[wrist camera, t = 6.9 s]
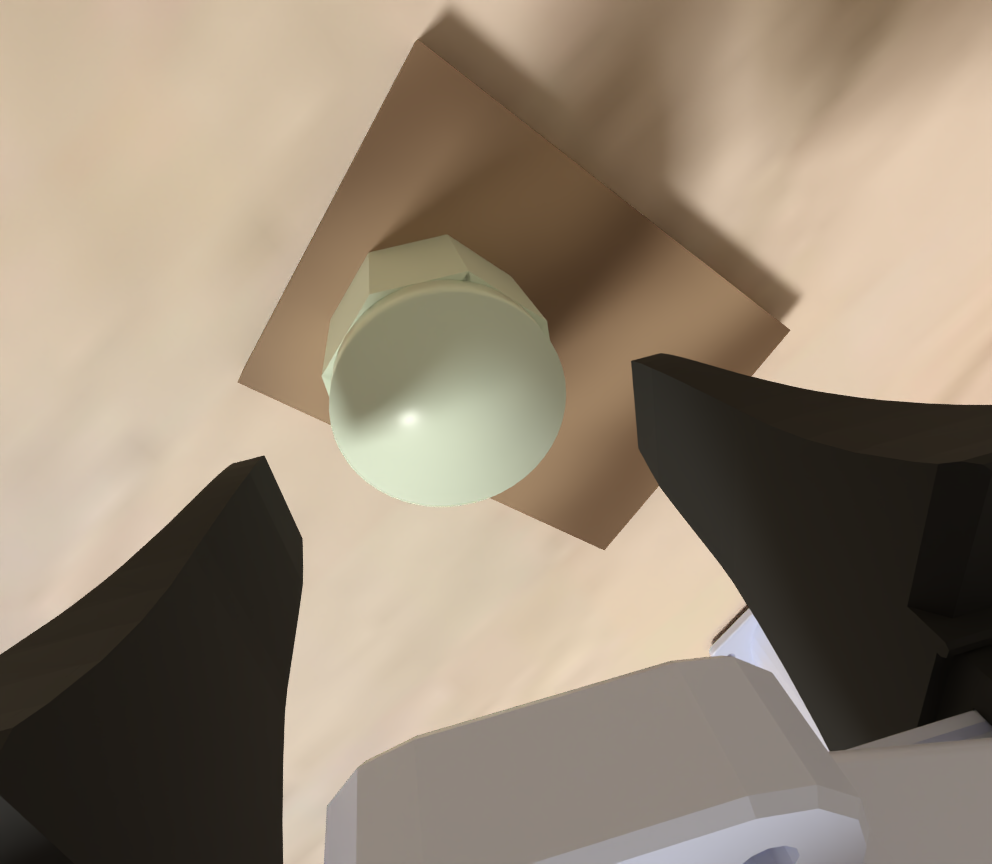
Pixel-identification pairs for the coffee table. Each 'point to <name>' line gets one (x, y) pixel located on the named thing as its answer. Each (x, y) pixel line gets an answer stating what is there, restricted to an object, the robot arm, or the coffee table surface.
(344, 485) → the coffee table surface
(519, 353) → the cap
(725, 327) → the post base
